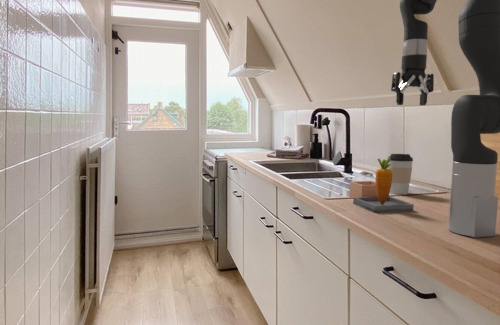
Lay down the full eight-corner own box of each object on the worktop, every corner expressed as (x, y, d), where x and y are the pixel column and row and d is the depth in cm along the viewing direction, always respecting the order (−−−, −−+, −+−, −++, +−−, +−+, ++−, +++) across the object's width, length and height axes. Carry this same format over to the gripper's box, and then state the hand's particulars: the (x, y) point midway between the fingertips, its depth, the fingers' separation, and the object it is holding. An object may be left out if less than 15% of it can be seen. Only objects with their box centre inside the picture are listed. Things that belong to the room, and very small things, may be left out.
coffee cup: (380, 191, 148) (382, 152, 147) (399, 190, 152) (401, 152, 150) (397, 195, 140) (399, 154, 138) (416, 194, 143) (419, 154, 142)
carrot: (370, 203, 122) (373, 156, 121) (382, 202, 124) (385, 156, 122) (381, 206, 118) (384, 158, 116) (394, 205, 120) (396, 157, 118)
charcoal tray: (413, 210, 116) (413, 204, 116) (374, 212, 113) (374, 206, 113) (388, 201, 129) (388, 196, 129) (353, 203, 126) (353, 197, 126)
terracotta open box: (384, 200, 131) (385, 184, 130) (361, 201, 129) (362, 185, 128) (371, 195, 139) (371, 180, 139) (349, 196, 137) (349, 181, 137)
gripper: (402, 52, 120) (399, 104, 122) (441, 54, 124) (437, 105, 125) (388, 55, 127) (385, 105, 129) (425, 57, 131) (422, 105, 133)
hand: (411, 105), depth 127 cm, fingers open, 8 cm apart
